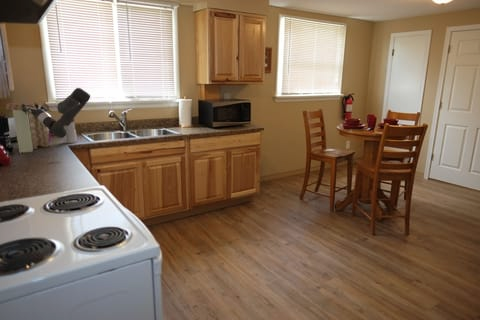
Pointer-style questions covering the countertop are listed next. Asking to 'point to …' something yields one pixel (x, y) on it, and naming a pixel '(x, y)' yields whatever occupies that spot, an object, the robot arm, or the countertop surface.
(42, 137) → the tan egg carton
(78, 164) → the countertop surface
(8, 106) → the walnut bar
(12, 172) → the countertop surface
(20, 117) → the sage post
